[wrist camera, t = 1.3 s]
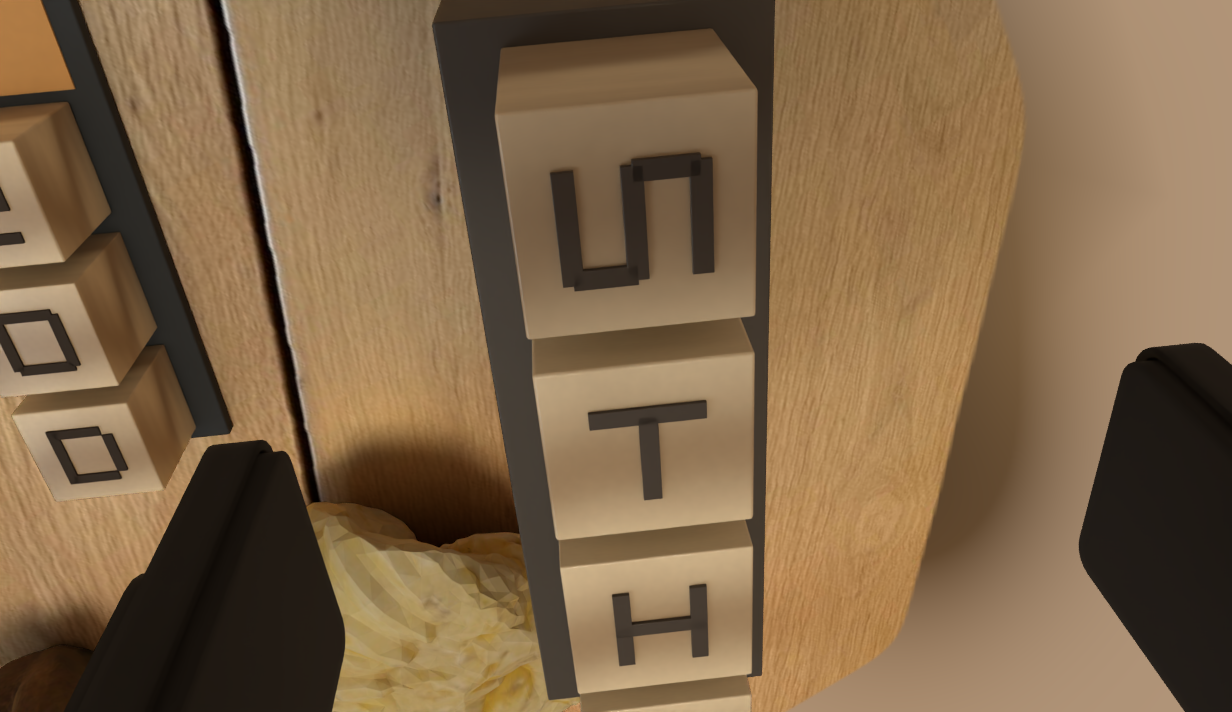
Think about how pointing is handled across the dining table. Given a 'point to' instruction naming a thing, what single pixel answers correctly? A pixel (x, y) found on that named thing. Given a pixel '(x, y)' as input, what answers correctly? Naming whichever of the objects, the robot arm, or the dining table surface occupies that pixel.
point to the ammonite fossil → (430, 618)
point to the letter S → (629, 181)
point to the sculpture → (42, 679)
